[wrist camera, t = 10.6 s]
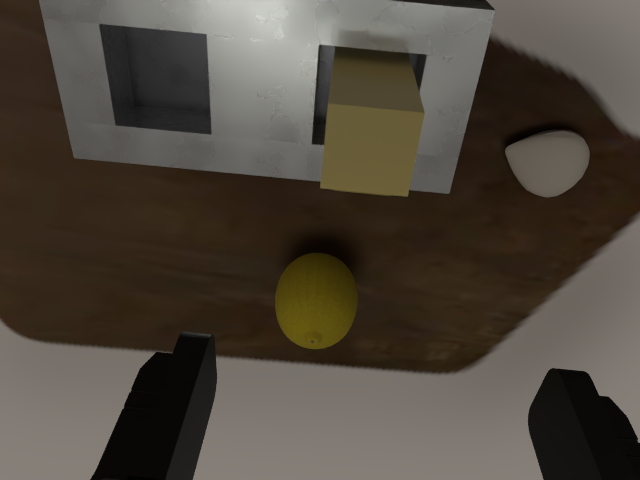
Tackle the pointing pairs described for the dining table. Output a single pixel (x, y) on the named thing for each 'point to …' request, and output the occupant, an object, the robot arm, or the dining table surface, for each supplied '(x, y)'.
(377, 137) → the plug
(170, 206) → the dining table surface
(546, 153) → the macaroon
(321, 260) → the lemon
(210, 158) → the panel
